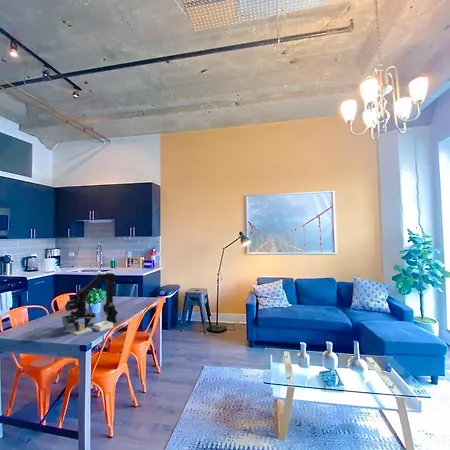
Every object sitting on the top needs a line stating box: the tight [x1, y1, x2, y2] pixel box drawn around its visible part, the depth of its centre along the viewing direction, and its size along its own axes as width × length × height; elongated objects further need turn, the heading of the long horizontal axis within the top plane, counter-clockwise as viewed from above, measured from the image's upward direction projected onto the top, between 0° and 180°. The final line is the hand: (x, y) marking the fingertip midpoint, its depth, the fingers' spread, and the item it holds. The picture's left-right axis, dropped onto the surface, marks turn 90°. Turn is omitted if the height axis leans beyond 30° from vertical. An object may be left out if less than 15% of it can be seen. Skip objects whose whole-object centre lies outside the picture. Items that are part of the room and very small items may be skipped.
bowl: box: [92, 320, 114, 332], centre depth 205 cm, size 10×10×4 cm
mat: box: [67, 329, 95, 337], centre depth 199 cm, size 13×13×1 cm
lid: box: [69, 322, 93, 336], centre depth 199 cm, size 11×11×5 cm
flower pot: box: [61, 314, 79, 330], centre depth 207 cm, size 9×9×9 cm
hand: (81, 329), depth 199 cm, fingers open, 6 cm apart
